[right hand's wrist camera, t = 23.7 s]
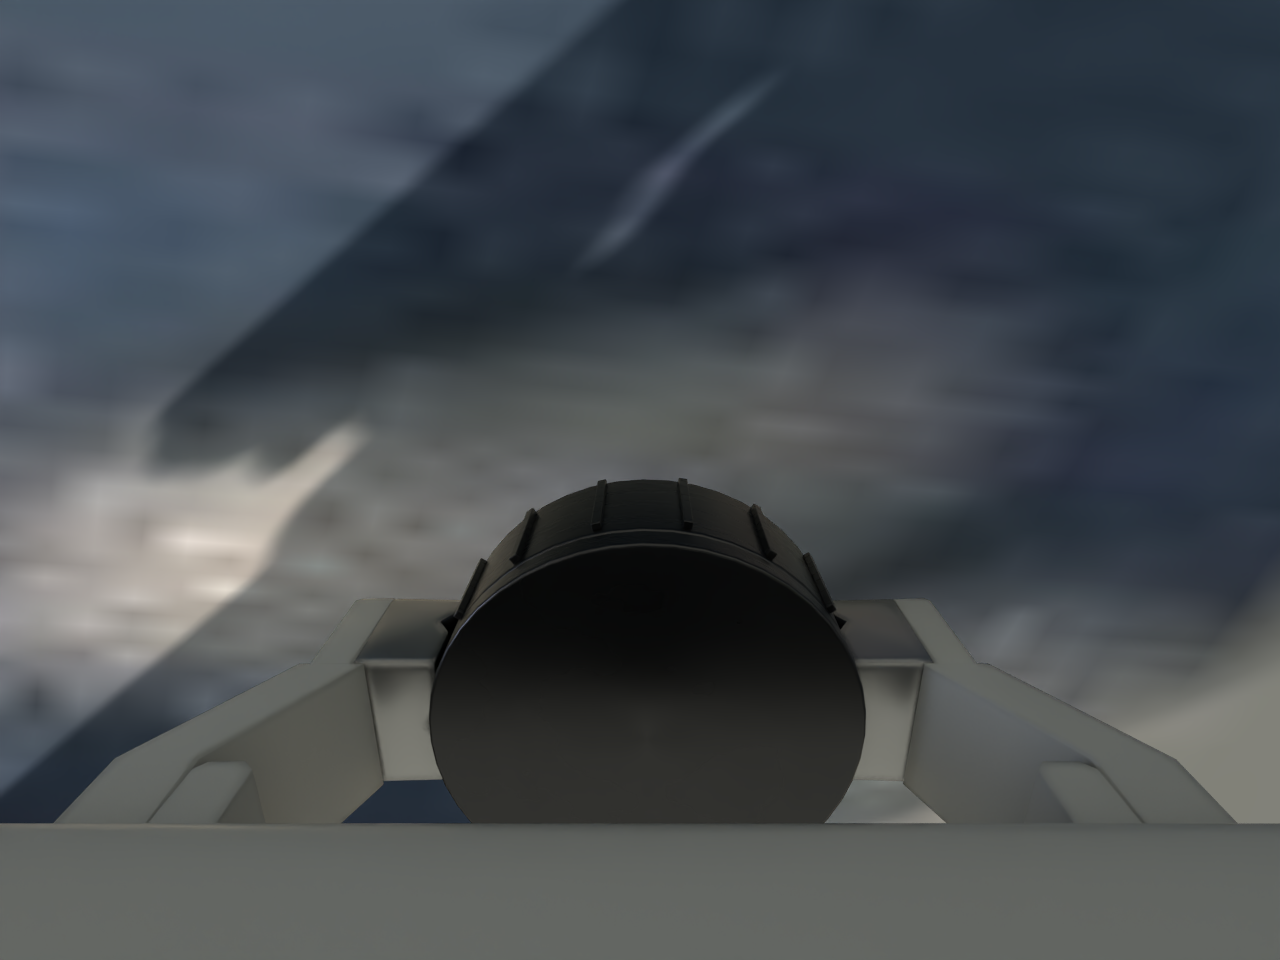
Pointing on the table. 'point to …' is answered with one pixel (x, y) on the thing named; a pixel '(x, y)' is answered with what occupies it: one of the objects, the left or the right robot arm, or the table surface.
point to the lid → (647, 669)
